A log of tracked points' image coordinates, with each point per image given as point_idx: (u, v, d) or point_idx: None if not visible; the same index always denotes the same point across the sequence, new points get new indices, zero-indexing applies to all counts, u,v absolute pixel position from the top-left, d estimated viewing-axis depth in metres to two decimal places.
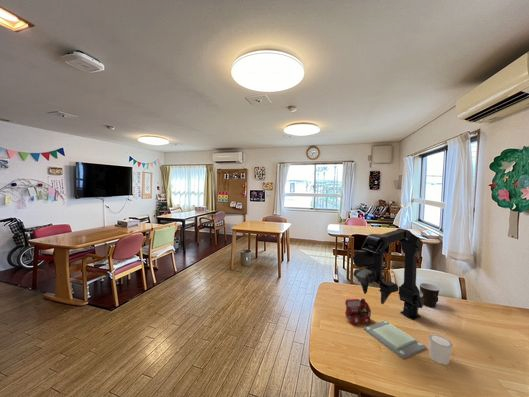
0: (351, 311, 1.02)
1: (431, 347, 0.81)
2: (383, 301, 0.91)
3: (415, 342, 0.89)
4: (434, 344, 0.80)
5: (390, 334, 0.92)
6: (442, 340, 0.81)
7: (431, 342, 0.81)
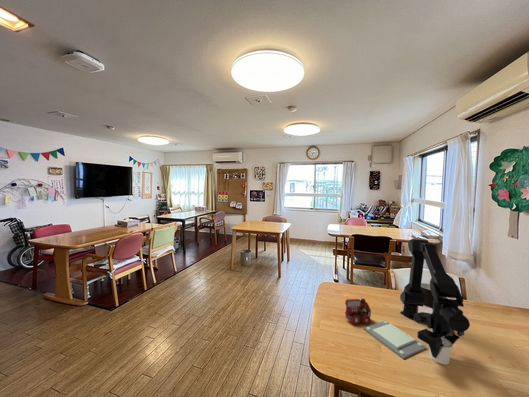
0: (351, 311, 1.02)
1: None
2: (433, 353, 0.80)
3: (415, 342, 0.89)
4: None
5: (390, 334, 0.92)
6: (442, 340, 0.81)
7: None
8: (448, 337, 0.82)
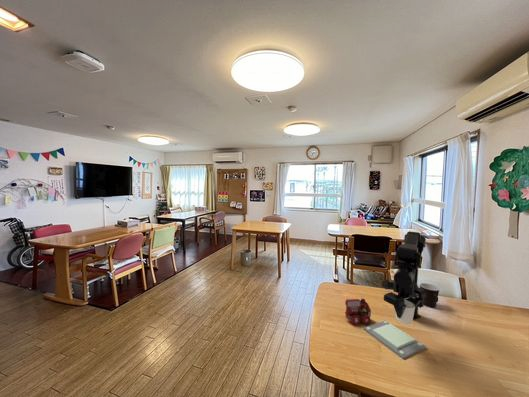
0: (351, 311, 1.02)
1: None
2: (397, 314, 0.87)
3: (415, 342, 0.89)
4: None
5: (390, 334, 0.92)
6: (406, 302, 0.89)
7: None
8: (412, 300, 0.90)
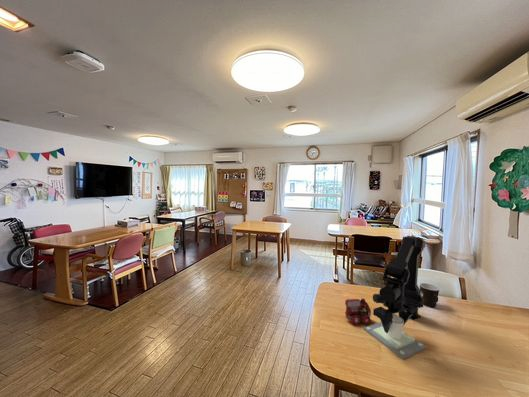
0: (351, 311, 1.02)
1: None
2: (384, 329, 0.90)
3: (415, 342, 0.89)
4: None
5: None
6: (396, 318, 0.92)
7: None
8: (403, 314, 0.93)
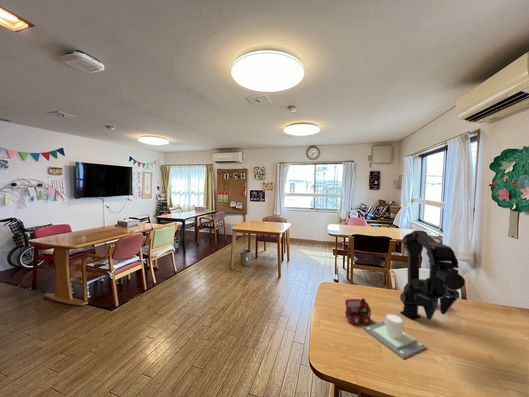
0: (351, 311, 1.02)
1: (386, 324, 0.92)
2: (427, 315, 0.84)
3: (415, 342, 0.89)
4: (388, 321, 0.90)
5: None
6: (396, 318, 0.92)
7: (386, 319, 0.91)
8: (446, 299, 0.87)
